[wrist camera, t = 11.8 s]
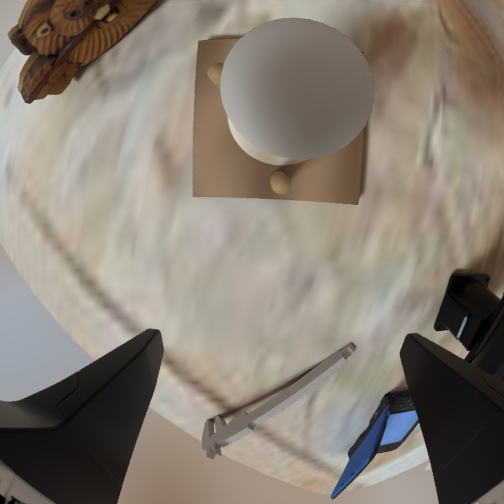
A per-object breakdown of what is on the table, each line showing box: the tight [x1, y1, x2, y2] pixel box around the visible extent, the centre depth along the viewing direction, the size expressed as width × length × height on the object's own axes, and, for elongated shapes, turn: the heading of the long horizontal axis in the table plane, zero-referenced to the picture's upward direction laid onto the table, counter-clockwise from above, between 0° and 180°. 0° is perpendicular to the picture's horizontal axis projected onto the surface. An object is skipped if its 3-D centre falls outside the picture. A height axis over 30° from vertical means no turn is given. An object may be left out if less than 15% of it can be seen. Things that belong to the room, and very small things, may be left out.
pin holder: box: [193, 39, 364, 205], centre depth 16 cm, size 12×12×4 cm
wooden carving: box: [8, 0, 156, 104], centre depth 11 cm, size 16×5×10 cm, turn 135°
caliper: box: [202, 343, 355, 459], centre depth 25 cm, size 20×1×6 cm, turn 131°
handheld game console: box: [331, 391, 419, 499], centre depth 26 cm, size 16×13×9 cm
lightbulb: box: [220, 18, 374, 160], centre depth 12 cm, size 6×6×11 cm
